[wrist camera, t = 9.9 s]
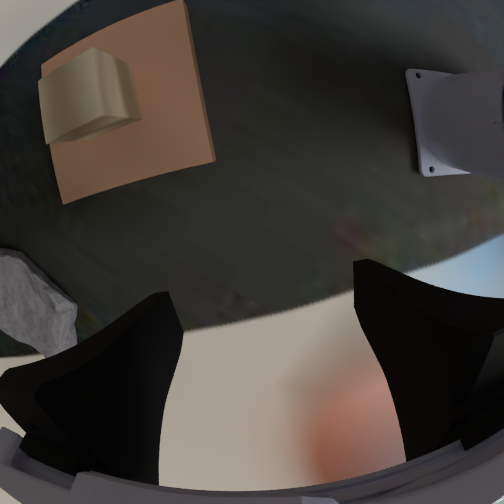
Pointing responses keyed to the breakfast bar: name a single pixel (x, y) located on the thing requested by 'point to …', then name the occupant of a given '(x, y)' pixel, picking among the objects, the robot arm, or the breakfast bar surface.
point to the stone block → (34, 306)
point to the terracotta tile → (141, 106)
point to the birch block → (88, 97)
